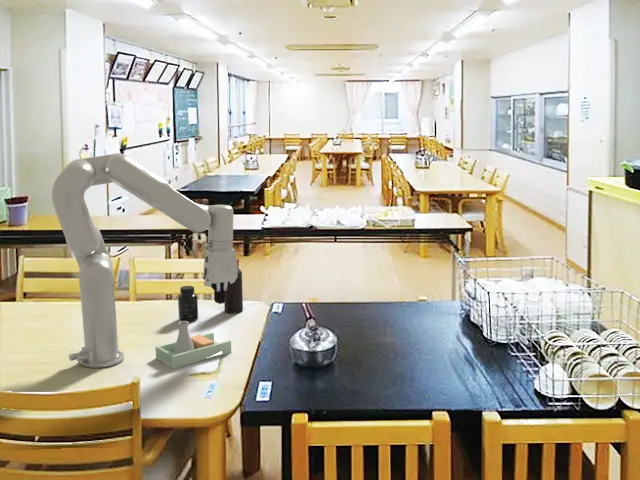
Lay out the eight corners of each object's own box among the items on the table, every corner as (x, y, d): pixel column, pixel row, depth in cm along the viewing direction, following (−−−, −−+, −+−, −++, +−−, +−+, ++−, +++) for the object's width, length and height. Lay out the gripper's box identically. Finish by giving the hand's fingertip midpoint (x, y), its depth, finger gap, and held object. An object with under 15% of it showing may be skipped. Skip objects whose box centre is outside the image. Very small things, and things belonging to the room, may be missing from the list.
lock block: (203, 353, 207) (202, 344, 207) (188, 346, 213) (188, 337, 213) (214, 350, 210) (214, 341, 209) (200, 343, 216) (199, 334, 215)
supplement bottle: (176, 318, 247) (175, 286, 244) (195, 315, 250) (194, 283, 247) (181, 323, 241) (180, 290, 238) (200, 321, 243) (199, 288, 241)
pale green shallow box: (173, 368, 200) (173, 356, 199) (155, 358, 208) (155, 346, 207) (231, 352, 212) (231, 341, 212) (212, 343, 221) (211, 332, 220)
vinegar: (246, 310, 256) (245, 257, 252) (235, 314, 251) (233, 261, 247) (232, 307, 260) (230, 255, 256) (220, 311, 254) (219, 259, 250)
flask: (199, 350, 211) (198, 319, 209) (193, 358, 204) (191, 326, 202) (176, 349, 212) (175, 318, 210) (169, 357, 205) (167, 326, 203)
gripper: (205, 249, 203) (205, 309, 206) (247, 245, 213) (246, 302, 216) (192, 245, 209) (192, 303, 212) (233, 241, 218) (232, 296, 222)
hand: (219, 302), depth 214 cm, fingers closed
